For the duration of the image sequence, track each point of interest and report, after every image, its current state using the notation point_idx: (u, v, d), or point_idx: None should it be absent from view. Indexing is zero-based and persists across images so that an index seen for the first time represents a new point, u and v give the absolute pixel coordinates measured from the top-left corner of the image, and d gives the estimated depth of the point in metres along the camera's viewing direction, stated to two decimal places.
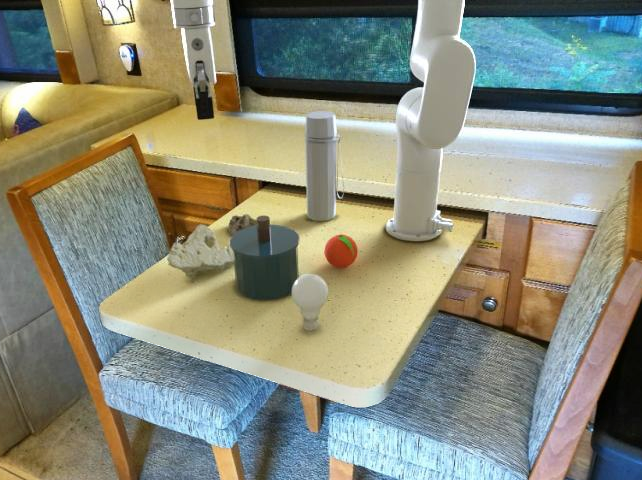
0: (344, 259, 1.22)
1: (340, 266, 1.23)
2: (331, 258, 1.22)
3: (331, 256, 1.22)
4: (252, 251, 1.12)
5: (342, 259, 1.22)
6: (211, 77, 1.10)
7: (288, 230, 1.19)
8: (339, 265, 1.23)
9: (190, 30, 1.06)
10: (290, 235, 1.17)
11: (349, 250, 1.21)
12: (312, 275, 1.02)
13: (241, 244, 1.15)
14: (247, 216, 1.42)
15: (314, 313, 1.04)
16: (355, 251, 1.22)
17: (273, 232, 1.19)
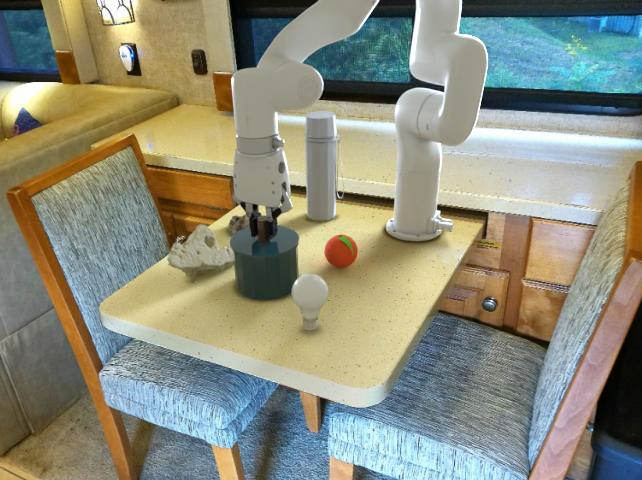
0: (344, 259, 1.22)
1: (340, 266, 1.23)
2: (331, 258, 1.22)
3: (331, 256, 1.22)
4: (252, 251, 1.12)
5: (342, 259, 1.22)
6: (289, 194, 1.10)
7: (288, 230, 1.19)
8: (339, 265, 1.23)
9: (275, 156, 1.04)
10: (290, 235, 1.17)
11: (349, 250, 1.21)
12: (312, 275, 1.02)
13: (241, 244, 1.15)
14: None
15: (314, 313, 1.04)
16: (355, 251, 1.22)
17: None
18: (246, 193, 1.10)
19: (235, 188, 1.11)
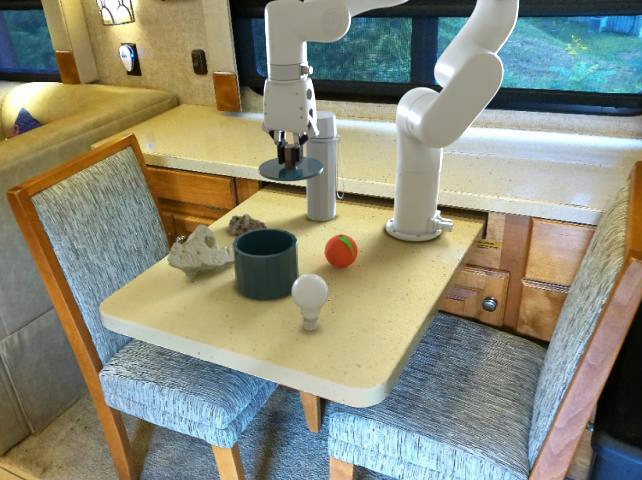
0: (344, 259, 1.22)
1: (340, 266, 1.23)
2: (331, 258, 1.22)
3: (331, 256, 1.22)
4: (280, 175, 1.21)
5: (342, 259, 1.22)
6: (315, 121, 1.19)
7: (312, 160, 1.28)
8: (339, 265, 1.23)
9: (304, 82, 1.13)
10: (314, 163, 1.26)
11: (349, 250, 1.21)
12: (312, 275, 1.02)
13: (269, 170, 1.24)
14: (247, 216, 1.42)
15: (314, 313, 1.04)
16: (355, 251, 1.22)
17: None
18: (275, 120, 1.19)
19: (265, 116, 1.20)
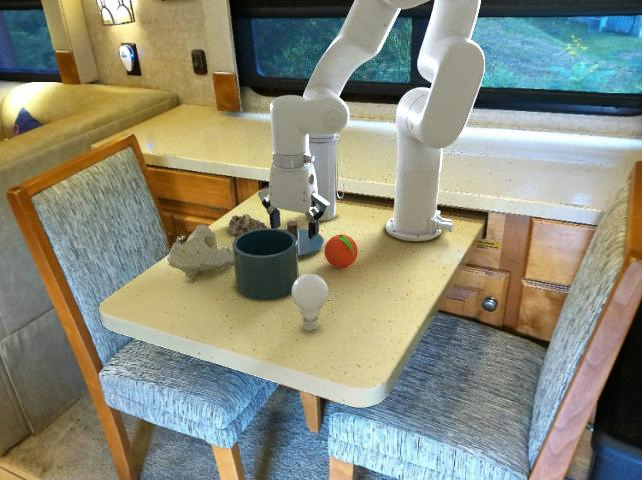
0: (344, 259, 1.22)
1: (340, 266, 1.23)
2: (331, 258, 1.22)
3: (331, 256, 1.22)
4: None
5: (342, 259, 1.22)
6: None
7: None
8: (339, 265, 1.23)
9: (307, 169, 1.23)
10: (315, 237, 1.35)
11: (349, 250, 1.21)
12: (312, 275, 1.02)
13: None
14: (247, 216, 1.42)
15: (314, 313, 1.04)
16: (355, 251, 1.22)
17: (300, 235, 1.37)
18: (280, 201, 1.28)
19: (270, 197, 1.30)
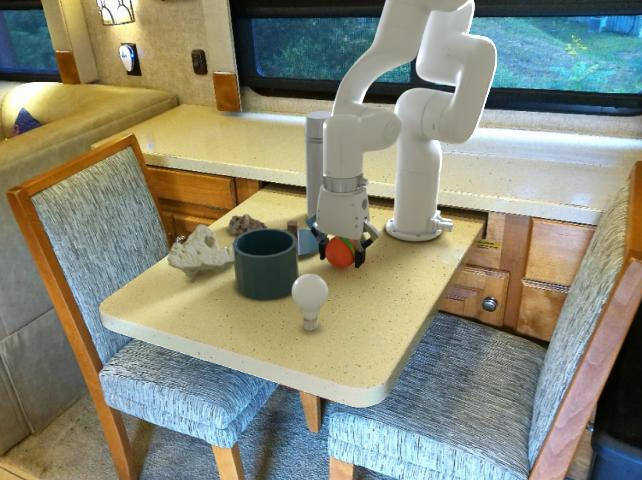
0: (345, 259, 1.21)
1: (341, 266, 1.23)
2: (332, 258, 1.22)
3: (332, 256, 1.22)
4: None
5: (343, 259, 1.21)
6: None
7: None
8: (340, 265, 1.23)
9: (360, 194, 1.14)
10: None
11: (350, 250, 1.21)
12: (312, 275, 1.02)
13: None
14: (247, 216, 1.42)
15: (314, 313, 1.04)
16: None
17: (300, 235, 1.37)
18: (329, 226, 1.20)
19: (318, 221, 1.21)
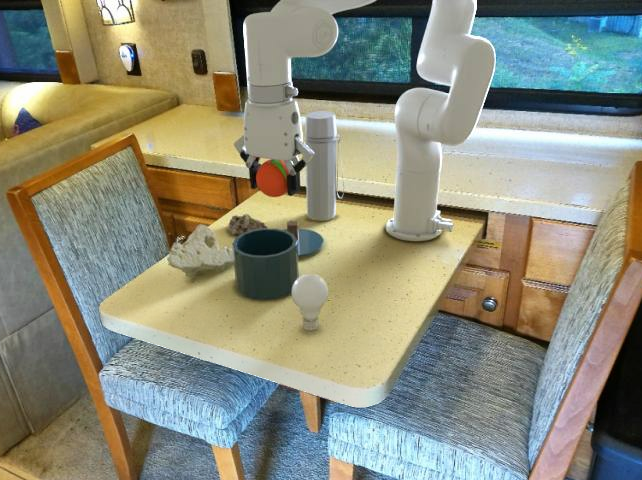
0: (276, 185, 1.08)
1: (273, 194, 1.10)
2: (262, 185, 1.09)
3: (262, 182, 1.09)
4: None
5: (274, 185, 1.08)
6: None
7: (313, 233, 1.37)
8: (272, 193, 1.10)
9: (289, 105, 1.01)
10: (315, 237, 1.35)
11: (282, 175, 1.08)
12: (312, 275, 1.02)
13: None
14: (247, 216, 1.42)
15: (314, 313, 1.04)
16: None
17: (300, 235, 1.37)
18: (257, 147, 1.06)
19: (246, 142, 1.07)
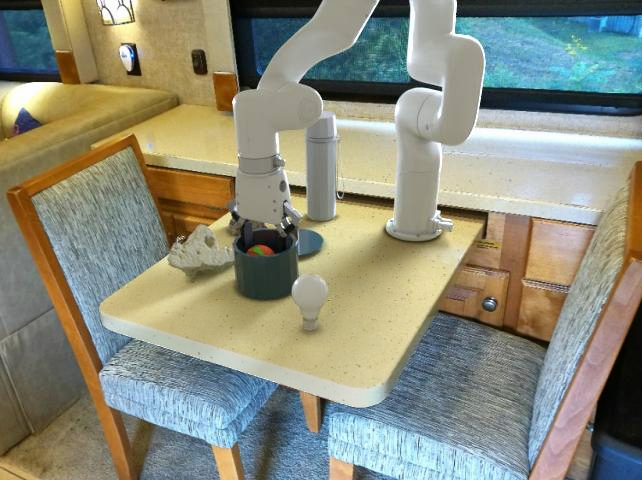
0: None
1: None
2: None
3: None
4: None
5: None
6: None
7: (313, 233, 1.37)
8: None
9: (277, 175, 1.06)
10: (315, 237, 1.35)
11: None
12: (312, 275, 1.02)
13: None
14: None
15: (314, 313, 1.04)
16: None
17: (300, 235, 1.37)
18: (248, 211, 1.12)
19: (237, 206, 1.13)
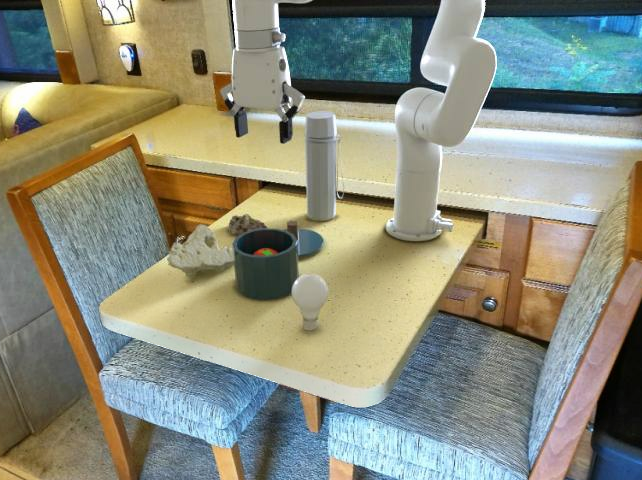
0: None
1: None
2: None
3: None
4: None
5: None
6: None
7: (313, 233, 1.37)
8: None
9: (276, 51, 1.00)
10: (315, 237, 1.35)
11: None
12: (312, 275, 1.02)
13: None
14: (247, 216, 1.42)
15: (314, 313, 1.04)
16: None
17: (300, 235, 1.37)
18: (245, 96, 1.06)
19: (234, 91, 1.07)
